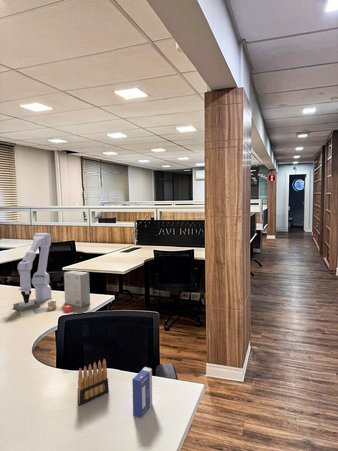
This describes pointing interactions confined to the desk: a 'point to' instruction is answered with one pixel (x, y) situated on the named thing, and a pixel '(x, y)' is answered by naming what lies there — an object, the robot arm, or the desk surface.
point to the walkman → (142, 392)
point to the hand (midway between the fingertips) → (26, 302)
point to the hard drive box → (77, 288)
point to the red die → (67, 308)
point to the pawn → (51, 304)
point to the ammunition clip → (92, 383)
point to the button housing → (26, 306)
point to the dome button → (26, 303)
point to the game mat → (37, 311)
